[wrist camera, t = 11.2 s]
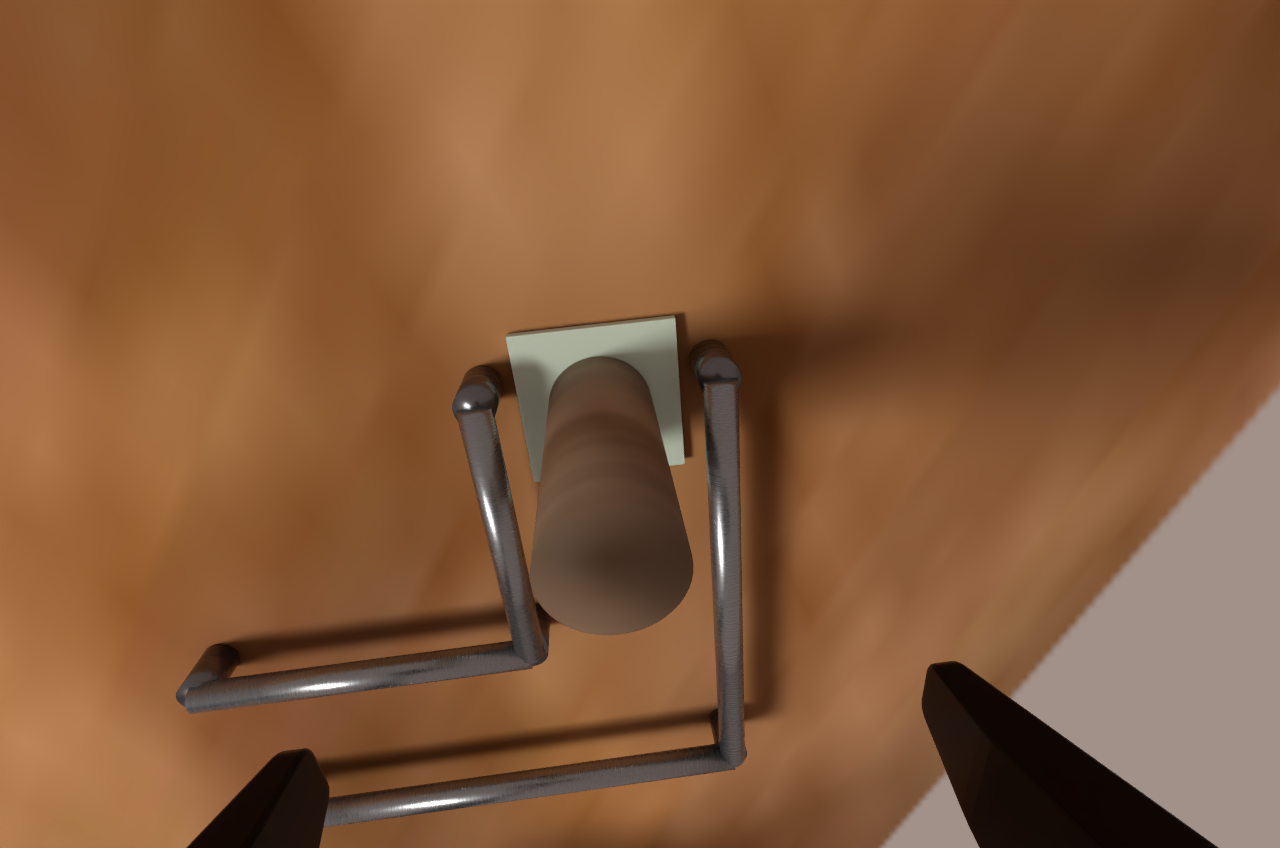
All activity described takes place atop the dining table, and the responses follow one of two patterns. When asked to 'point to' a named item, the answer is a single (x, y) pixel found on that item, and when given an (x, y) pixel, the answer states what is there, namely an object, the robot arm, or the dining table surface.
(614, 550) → the walnut peg
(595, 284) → the dining table surface
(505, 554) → the rails leg
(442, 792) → the rail leg
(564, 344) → the sage coaster
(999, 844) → the robot arm
